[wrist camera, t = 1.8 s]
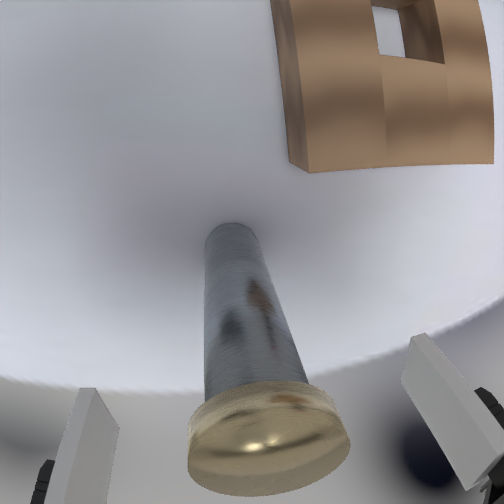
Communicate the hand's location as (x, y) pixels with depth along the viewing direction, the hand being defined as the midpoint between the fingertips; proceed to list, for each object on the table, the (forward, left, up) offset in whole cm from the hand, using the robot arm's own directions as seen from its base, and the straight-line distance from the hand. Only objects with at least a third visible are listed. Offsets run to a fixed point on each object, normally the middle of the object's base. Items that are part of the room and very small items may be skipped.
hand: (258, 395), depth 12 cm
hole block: (-16, +13, -14) cm, 25 cm away
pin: (0, 0, -14) cm, 14 cm away
